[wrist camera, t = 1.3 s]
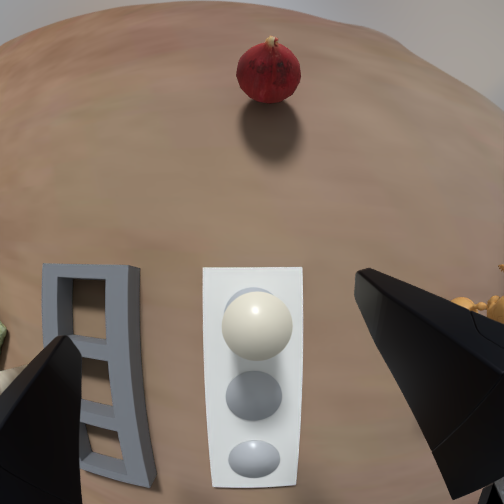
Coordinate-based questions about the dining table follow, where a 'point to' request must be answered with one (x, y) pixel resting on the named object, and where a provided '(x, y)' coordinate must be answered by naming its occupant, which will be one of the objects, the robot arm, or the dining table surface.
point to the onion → (268, 72)
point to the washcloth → (2, 334)
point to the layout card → (253, 374)
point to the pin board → (119, 364)
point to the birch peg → (9, 376)
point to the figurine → (496, 306)
